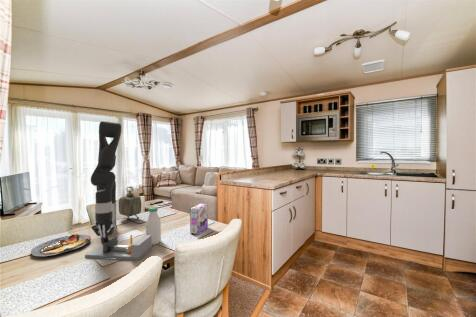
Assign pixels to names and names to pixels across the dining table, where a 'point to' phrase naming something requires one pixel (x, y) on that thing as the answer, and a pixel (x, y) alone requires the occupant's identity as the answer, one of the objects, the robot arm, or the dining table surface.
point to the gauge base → (137, 251)
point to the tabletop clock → (130, 204)
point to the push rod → (113, 245)
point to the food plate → (61, 245)
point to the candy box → (198, 218)
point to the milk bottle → (153, 226)
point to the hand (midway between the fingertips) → (104, 243)
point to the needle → (130, 245)
